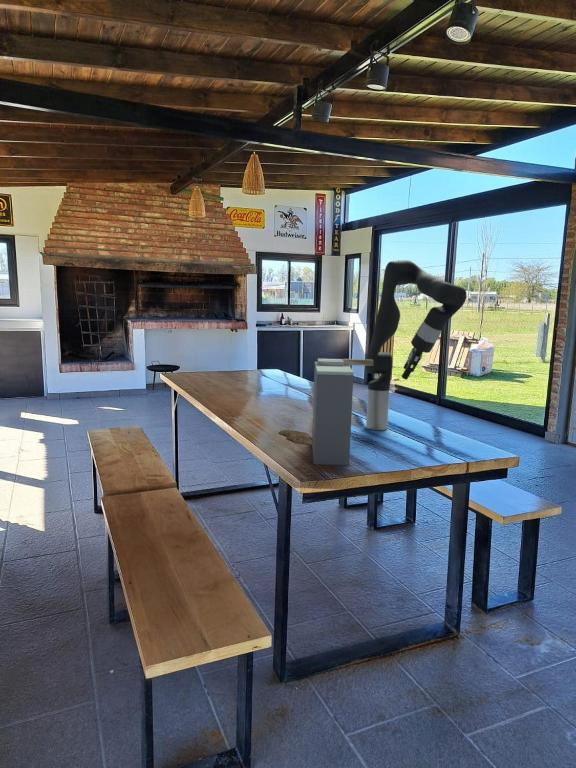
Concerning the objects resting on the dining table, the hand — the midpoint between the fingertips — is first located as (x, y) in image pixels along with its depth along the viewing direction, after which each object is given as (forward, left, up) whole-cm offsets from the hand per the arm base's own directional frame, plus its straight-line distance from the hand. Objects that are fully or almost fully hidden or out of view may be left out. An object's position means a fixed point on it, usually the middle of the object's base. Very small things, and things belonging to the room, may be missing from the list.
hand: (404, 373), depth 198 cm
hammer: (-1, -23, +3) cm, 23 cm away
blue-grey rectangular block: (+5, -27, -29) cm, 40 cm away
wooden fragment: (-16, -38, -30) cm, 51 cm away
